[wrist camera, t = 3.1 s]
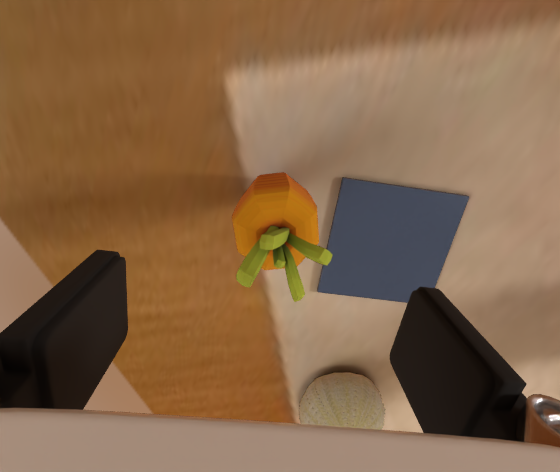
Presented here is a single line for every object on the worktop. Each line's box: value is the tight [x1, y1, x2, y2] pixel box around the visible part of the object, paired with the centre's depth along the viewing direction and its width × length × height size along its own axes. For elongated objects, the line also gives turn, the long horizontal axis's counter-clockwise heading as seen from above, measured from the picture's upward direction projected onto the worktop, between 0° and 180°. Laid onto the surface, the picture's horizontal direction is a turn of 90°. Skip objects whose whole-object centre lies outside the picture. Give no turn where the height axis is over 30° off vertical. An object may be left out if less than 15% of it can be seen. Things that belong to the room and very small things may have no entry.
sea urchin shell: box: [299, 372, 385, 430], centre depth 34 cm, size 9×8×8 cm
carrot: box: [232, 172, 332, 302], centre depth 20 cm, size 5×5×15 cm
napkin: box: [317, 177, 469, 303], centre depth 29 cm, size 11×11×1 cm
